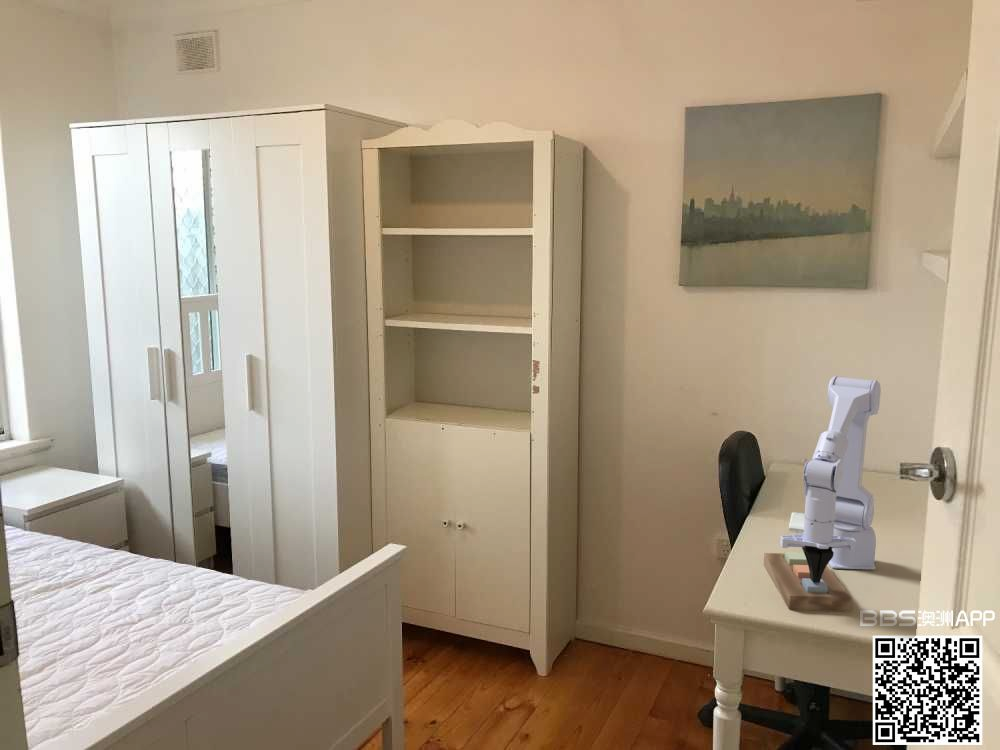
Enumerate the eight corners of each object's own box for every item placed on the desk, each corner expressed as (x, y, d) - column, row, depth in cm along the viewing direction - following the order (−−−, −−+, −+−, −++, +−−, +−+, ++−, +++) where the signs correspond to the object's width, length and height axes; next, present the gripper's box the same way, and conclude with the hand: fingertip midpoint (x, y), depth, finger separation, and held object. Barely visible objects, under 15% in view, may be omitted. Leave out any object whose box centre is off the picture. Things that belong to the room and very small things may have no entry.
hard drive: (791, 511, 218) (788, 527, 207) (824, 516, 215) (823, 531, 204) (791, 517, 219) (788, 533, 207) (823, 521, 215) (822, 537, 204)
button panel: (817, 566, 185) (818, 554, 185) (850, 611, 164) (851, 597, 163) (763, 565, 186) (764, 553, 186) (789, 609, 165) (789, 595, 164)
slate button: (821, 589, 170) (821, 578, 169) (827, 598, 166) (827, 587, 165) (801, 588, 170) (802, 578, 169) (807, 597, 166) (807, 586, 166)
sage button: (802, 562, 183) (803, 552, 183) (807, 569, 179) (808, 559, 179) (784, 562, 184) (784, 552, 183) (788, 569, 180) (789, 559, 179)
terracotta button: (811, 575, 176) (812, 565, 176) (816, 583, 173) (817, 572, 172) (792, 574, 177) (793, 564, 176) (797, 582, 173) (798, 572, 172)
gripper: (788, 523, 162) (784, 587, 164) (863, 525, 160) (858, 590, 163) (779, 511, 168) (775, 573, 171) (851, 513, 167) (846, 575, 170)
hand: (815, 580), depth 167 cm, fingers closed
